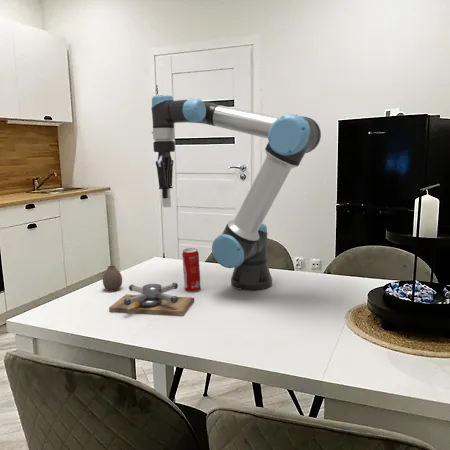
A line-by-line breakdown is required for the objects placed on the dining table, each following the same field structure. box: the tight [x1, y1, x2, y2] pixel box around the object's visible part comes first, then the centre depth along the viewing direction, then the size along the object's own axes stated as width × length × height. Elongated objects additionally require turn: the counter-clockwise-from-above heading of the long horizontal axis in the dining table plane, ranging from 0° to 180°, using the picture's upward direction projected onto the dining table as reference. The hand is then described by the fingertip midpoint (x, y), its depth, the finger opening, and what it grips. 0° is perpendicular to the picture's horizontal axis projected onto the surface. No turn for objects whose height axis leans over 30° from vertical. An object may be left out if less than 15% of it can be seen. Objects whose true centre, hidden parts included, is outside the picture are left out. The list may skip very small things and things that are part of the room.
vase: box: [102, 264, 123, 292], centre depth 164 cm, size 7×7×9 cm
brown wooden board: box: [108, 294, 195, 317], centre depth 145 cm, size 24×14×2 cm, turn 79°
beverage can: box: [181, 247, 202, 293], centre depth 161 cm, size 6×6×15 cm
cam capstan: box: [124, 282, 179, 307], centre depth 145 cm, size 22×22×5 cm
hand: (166, 206), depth 164 cm, fingers closed
